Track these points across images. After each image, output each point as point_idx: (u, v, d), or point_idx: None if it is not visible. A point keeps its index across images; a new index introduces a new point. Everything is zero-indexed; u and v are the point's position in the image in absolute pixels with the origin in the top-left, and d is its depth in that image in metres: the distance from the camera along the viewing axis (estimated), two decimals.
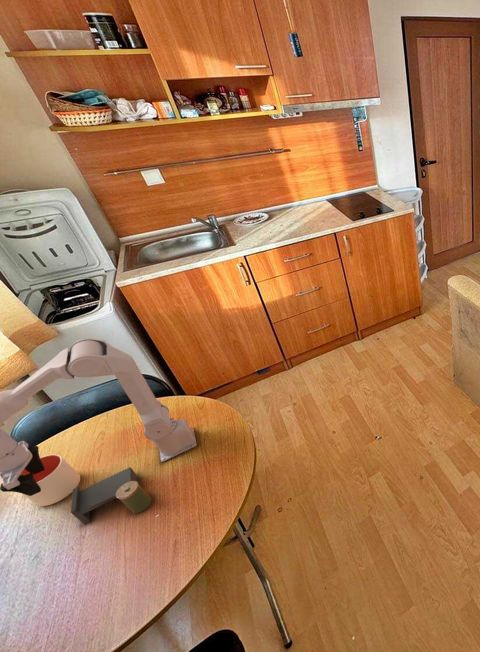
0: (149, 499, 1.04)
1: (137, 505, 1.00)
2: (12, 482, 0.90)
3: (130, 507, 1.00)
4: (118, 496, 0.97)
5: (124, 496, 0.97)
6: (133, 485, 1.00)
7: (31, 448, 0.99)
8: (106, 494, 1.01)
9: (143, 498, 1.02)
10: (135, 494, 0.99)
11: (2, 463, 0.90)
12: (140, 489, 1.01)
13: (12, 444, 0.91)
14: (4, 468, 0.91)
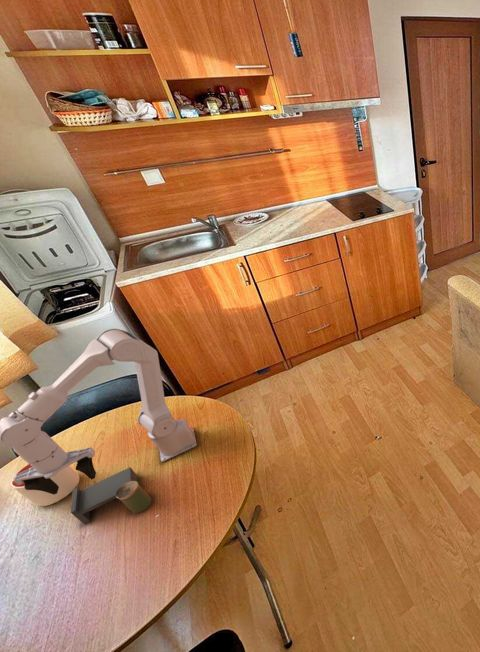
0: (149, 499, 1.04)
1: (137, 505, 1.00)
2: (91, 448, 0.97)
3: (130, 507, 1.00)
4: (118, 496, 0.97)
5: (124, 496, 0.97)
6: (133, 485, 1.00)
7: None
8: (106, 494, 1.01)
9: (143, 498, 1.02)
10: (135, 494, 0.99)
11: (60, 450, 0.93)
12: (140, 489, 1.01)
13: (54, 442, 0.92)
14: (64, 457, 0.93)
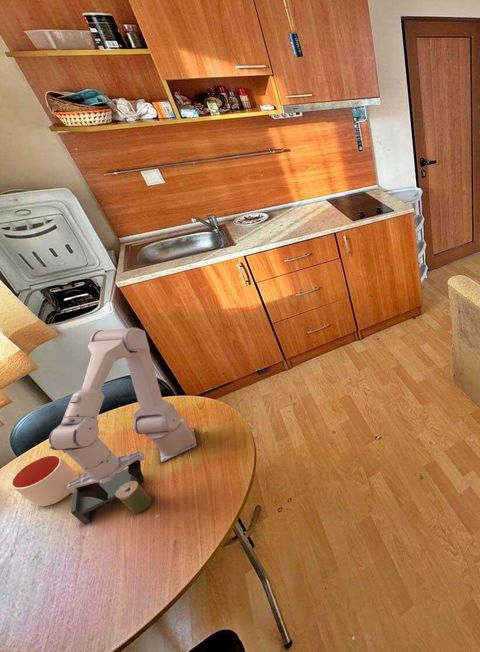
0: (149, 499, 1.04)
1: (137, 505, 1.00)
2: (141, 452, 0.98)
3: (130, 507, 1.00)
4: (118, 496, 0.97)
5: (124, 496, 0.97)
6: (133, 485, 1.00)
7: None
8: None
9: (143, 498, 1.02)
10: (135, 494, 0.99)
11: (113, 455, 0.93)
12: (140, 489, 1.01)
13: None
14: (116, 461, 0.94)
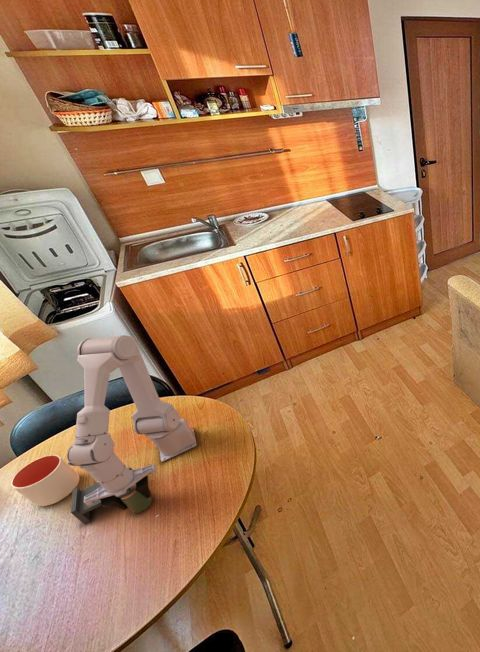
0: (149, 499, 1.04)
1: (137, 505, 1.00)
2: (153, 465, 1.01)
3: (130, 507, 1.00)
4: None
5: (124, 496, 0.97)
6: (133, 485, 1.00)
7: None
8: None
9: (143, 498, 1.02)
10: (135, 494, 0.99)
11: (127, 469, 0.97)
12: None
13: None
14: (130, 475, 0.97)
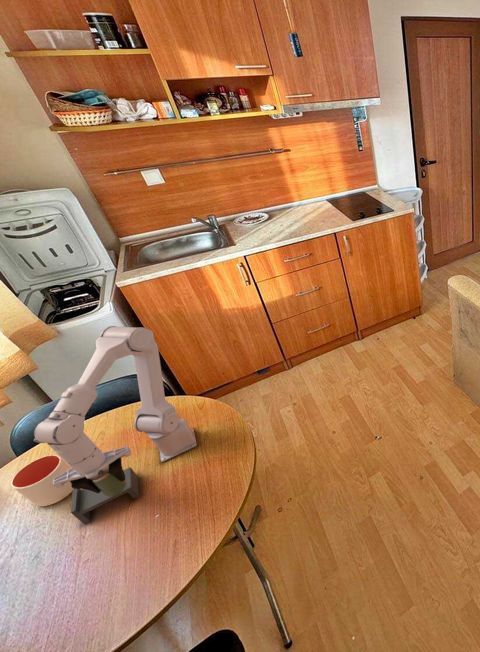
0: (124, 482, 1.00)
1: (111, 488, 0.97)
2: (127, 447, 0.98)
3: (103, 490, 0.97)
4: (90, 478, 0.94)
5: (96, 478, 0.94)
6: (106, 467, 0.97)
7: None
8: None
9: (117, 481, 0.98)
10: (108, 477, 0.96)
11: (99, 450, 0.94)
12: None
13: (91, 441, 0.93)
14: (102, 457, 0.94)
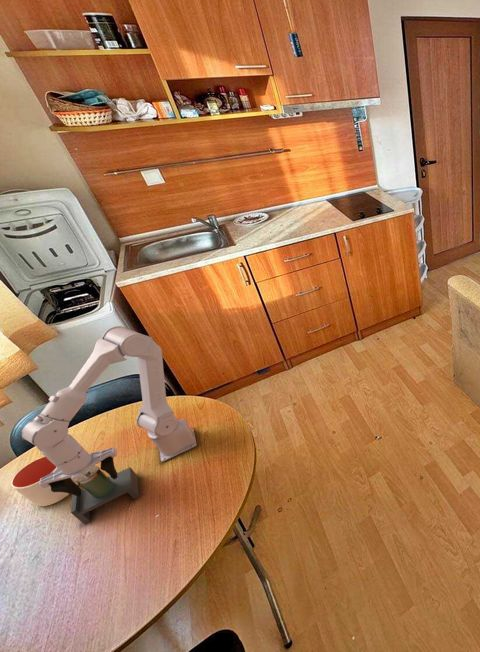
0: (111, 484, 1.03)
1: (98, 490, 1.00)
2: (113, 448, 1.00)
3: (91, 492, 0.99)
4: (77, 480, 0.96)
5: (83, 480, 0.96)
6: (94, 469, 0.99)
7: None
8: None
9: (104, 483, 1.01)
10: (96, 478, 0.98)
11: (85, 451, 0.96)
12: (101, 474, 1.00)
13: (79, 444, 0.94)
14: (88, 457, 0.96)
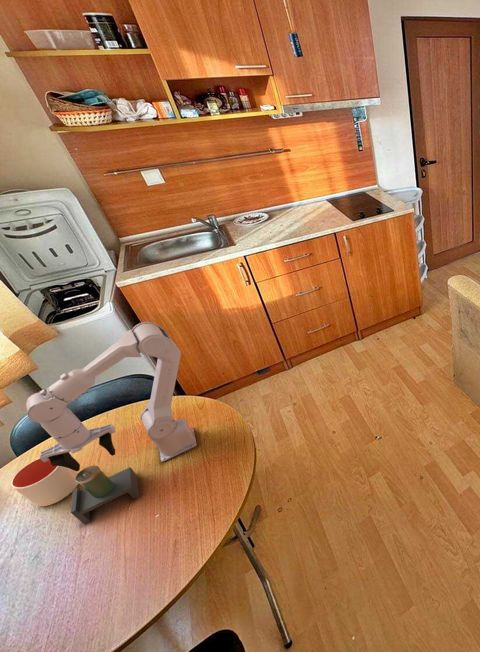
0: (111, 484, 1.03)
1: (98, 490, 1.00)
2: (112, 425, 1.03)
3: (91, 492, 0.99)
4: (77, 480, 0.96)
5: (83, 480, 0.96)
6: (94, 469, 0.99)
7: None
8: None
9: (104, 483, 1.01)
10: (96, 478, 0.98)
11: (84, 427, 0.98)
12: (101, 474, 1.00)
13: (78, 421, 0.97)
14: (87, 433, 0.99)
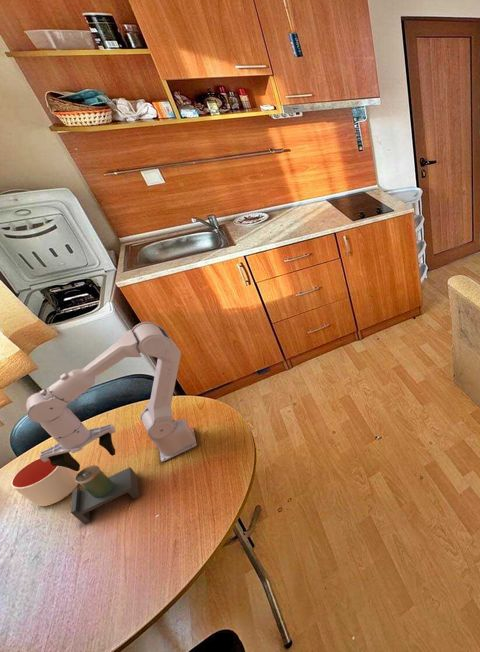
0: (111, 484, 1.03)
1: (98, 490, 1.00)
2: (112, 425, 1.03)
3: (91, 492, 0.99)
4: (77, 480, 0.96)
5: (83, 480, 0.96)
6: (94, 469, 0.99)
7: None
8: None
9: (104, 483, 1.01)
10: (96, 478, 0.98)
11: (84, 427, 0.98)
12: (101, 474, 1.00)
13: (78, 421, 0.97)
14: (87, 433, 0.99)
